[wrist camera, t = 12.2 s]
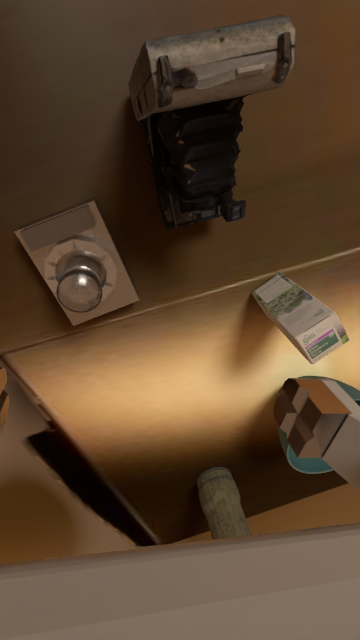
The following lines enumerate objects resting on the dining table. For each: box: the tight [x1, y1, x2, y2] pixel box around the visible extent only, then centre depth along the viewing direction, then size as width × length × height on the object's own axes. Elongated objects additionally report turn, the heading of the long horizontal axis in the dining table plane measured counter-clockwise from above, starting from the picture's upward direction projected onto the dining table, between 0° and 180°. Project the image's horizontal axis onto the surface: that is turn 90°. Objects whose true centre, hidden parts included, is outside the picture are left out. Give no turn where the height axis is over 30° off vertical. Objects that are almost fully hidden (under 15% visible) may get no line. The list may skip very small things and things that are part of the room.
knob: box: [57, 257, 102, 313], centre depth 37 cm, size 5×5×6 cm
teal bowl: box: [277, 376, 360, 474], centre depth 57 cm, size 18×18×12 cm
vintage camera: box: [129, 15, 295, 229], centre depth 29 cm, size 10×16×20 cm, turn 11°
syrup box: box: [251, 272, 349, 364], centre depth 44 cm, size 6×6×14 cm
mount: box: [15, 197, 139, 326], centre depth 39 cm, size 14×10×5 cm
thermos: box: [196, 467, 251, 540], centre depth 57 cm, size 9×12×35 cm
